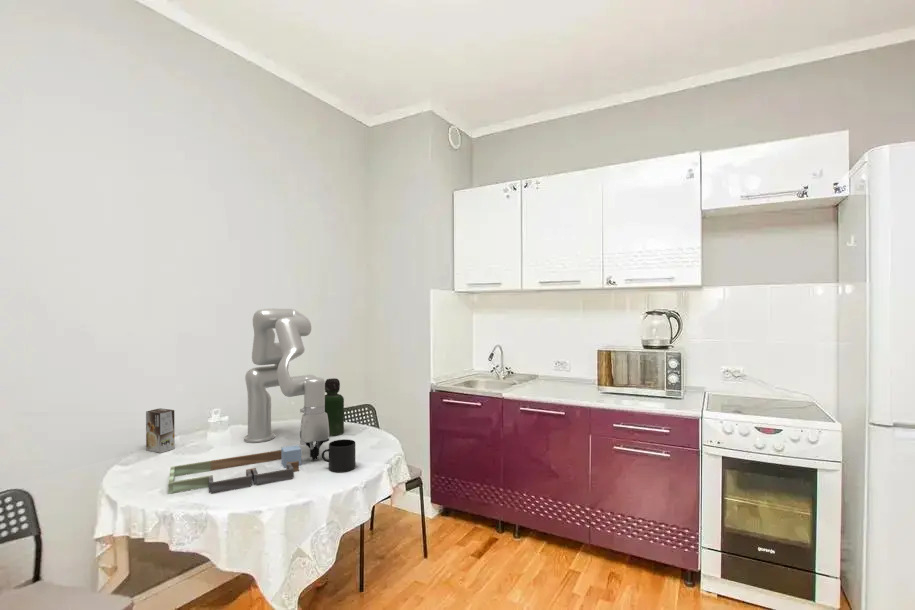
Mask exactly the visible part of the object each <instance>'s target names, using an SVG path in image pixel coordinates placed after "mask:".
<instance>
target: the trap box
mask: <svg viewBox="0 0 915 610" xmlns="http://www.w3.org/2000/svg"><path fill="white" fill-rule="evenodd" d="M279 460H281V449H279V450H272V451H265V452H259V453H254V454H253V453H252V454H247V455H245V454H244V455H239V456H232V457H227V458H219V459H214V460H207V461H200V462H194V463H187V464H181V465H173V466H170V470H169V476H168V484H167V485H168V488H167V489H168V493H167V494H168V495H172V494H175V492H177V493H181V492H180V491H183V492H187V491H186V490H188V491H192V490H191V489H194V490H198V488H200V489H204V488H208V494H209V493H211V494H217V493H224V492H228V491H233V490H234V489H235V490H239V489H240V490H241V489H244V488H249V487H251V486H253V485H256V486H261V485H266V484H267V485H268V484H271V483H278V482H282V481H288V480H292V479H293V478H294V473H295V472H299V471H300V466H299V461H295V462H289V463H286V468H284V469H280V470H274V471H269V472H263V473H258V471H257V470H258V469H257V467H254V468H248V469H245V476H240V477H234V478H229V479H222V480H215V481H214V475H205V476H199V477H194V478H188V479H182V480H175V479H176V478H175V477H178V476H179V477H180V476H186V474H187V475H193V474H199V473H205V472H209V471H210V472H211V471H216V470H217V471H218V470H223V469H224V470H225V469H229V468H235V467H241V466H249V465H255V464H260V463H266V462H273V461H279Z"/></svg>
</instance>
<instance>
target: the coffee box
mask: <svg viewBox="0 0 915 610" xmlns="http://www.w3.org/2000/svg"><path fill="white" fill-rule="evenodd" d="M175 432H176V431H175V410H174V409H167V408H155V409H151V410H147V411H145V437H146V438H145V450H146V451H147V452H153V453H158V454H162V453H165V452H168V451H171V450H175V445H176V444H175V436H176V435H175Z"/></svg>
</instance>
